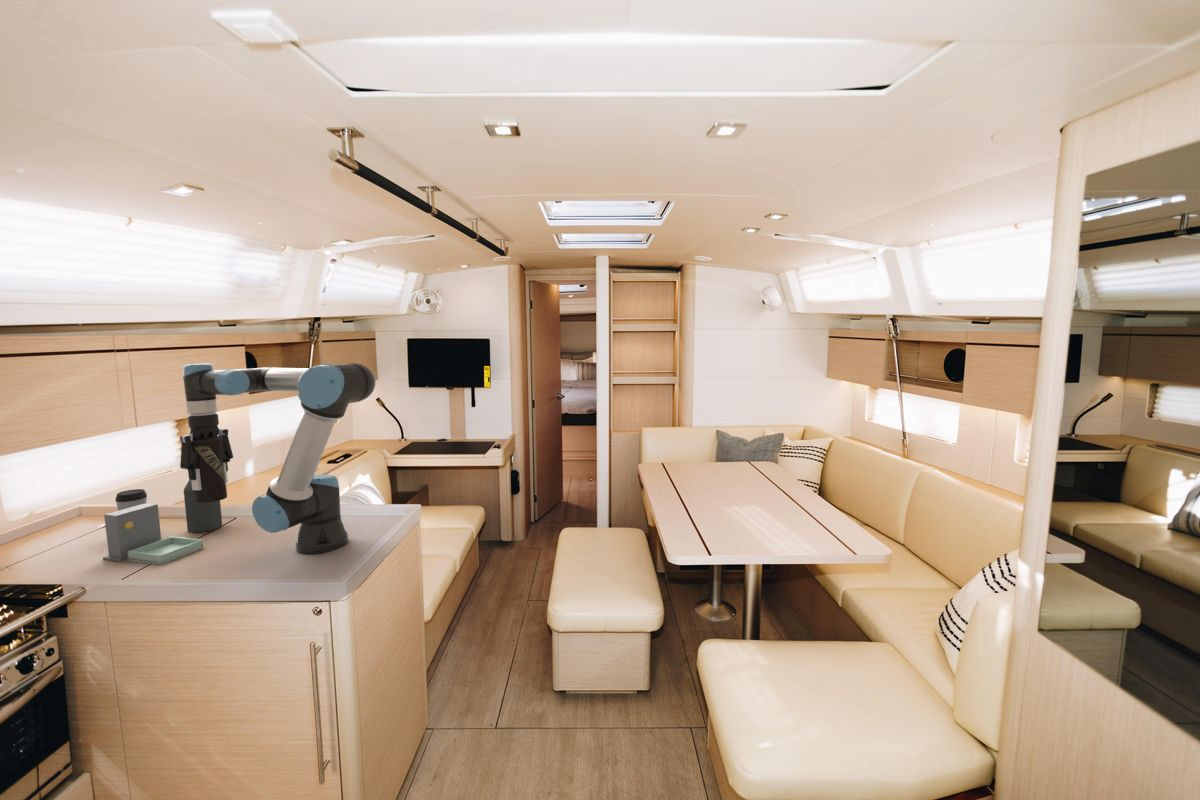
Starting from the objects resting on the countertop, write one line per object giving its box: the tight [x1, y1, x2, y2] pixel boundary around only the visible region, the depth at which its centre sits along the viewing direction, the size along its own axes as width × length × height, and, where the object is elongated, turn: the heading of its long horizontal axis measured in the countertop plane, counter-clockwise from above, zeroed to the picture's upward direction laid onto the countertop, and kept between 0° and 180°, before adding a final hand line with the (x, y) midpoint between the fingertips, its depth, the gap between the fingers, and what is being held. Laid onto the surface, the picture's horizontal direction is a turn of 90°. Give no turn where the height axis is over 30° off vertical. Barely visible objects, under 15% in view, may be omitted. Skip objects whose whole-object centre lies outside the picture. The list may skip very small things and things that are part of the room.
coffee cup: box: [114, 488, 148, 511], centre depth 186 cm, size 8×8×15 cm
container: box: [191, 435, 228, 503], centre depth 167 cm, size 9×9×20 cm
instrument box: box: [102, 502, 162, 562], centre depth 170 cm, size 7×14×14 cm, turn 165°
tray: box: [127, 535, 205, 566], centre depth 169 cm, size 13×13×3 cm
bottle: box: [183, 479, 223, 534], centre depth 190 cm, size 10×10×30 cm
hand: (210, 486), depth 168 cm, fingers closed on container, 8 cm apart
